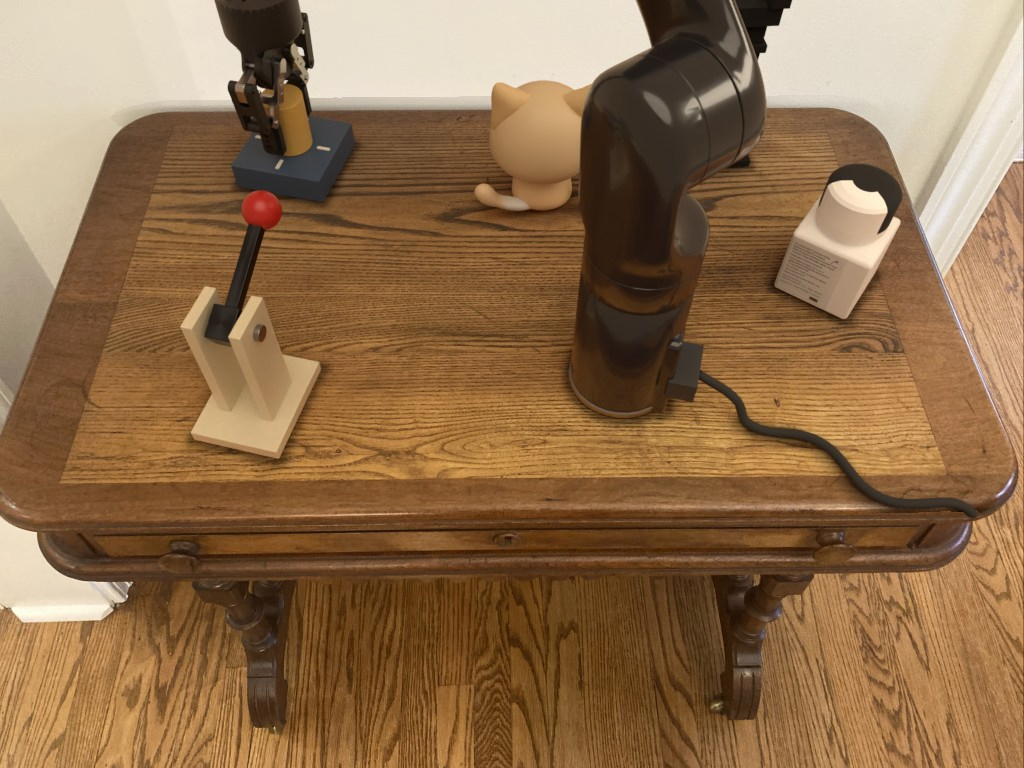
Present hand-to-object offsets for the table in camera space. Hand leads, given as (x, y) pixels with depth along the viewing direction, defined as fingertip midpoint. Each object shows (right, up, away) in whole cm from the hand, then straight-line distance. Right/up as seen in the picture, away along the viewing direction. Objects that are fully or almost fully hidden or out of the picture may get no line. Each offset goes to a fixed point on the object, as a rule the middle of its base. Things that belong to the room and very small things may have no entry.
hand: (289, 132), depth 92 cm
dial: (0, -1, +1) cm, 1 cm away
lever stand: (+1, -29, -15) cm, 33 cm away
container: (+56, -17, -6) cm, 58 cm away
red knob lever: (+3, -18, -22) cm, 28 cm away
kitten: (+28, -7, +1) cm, 28 cm away
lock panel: (0, -3, +4) cm, 5 cm away
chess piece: (+46, 0, +6) cm, 47 cm away
